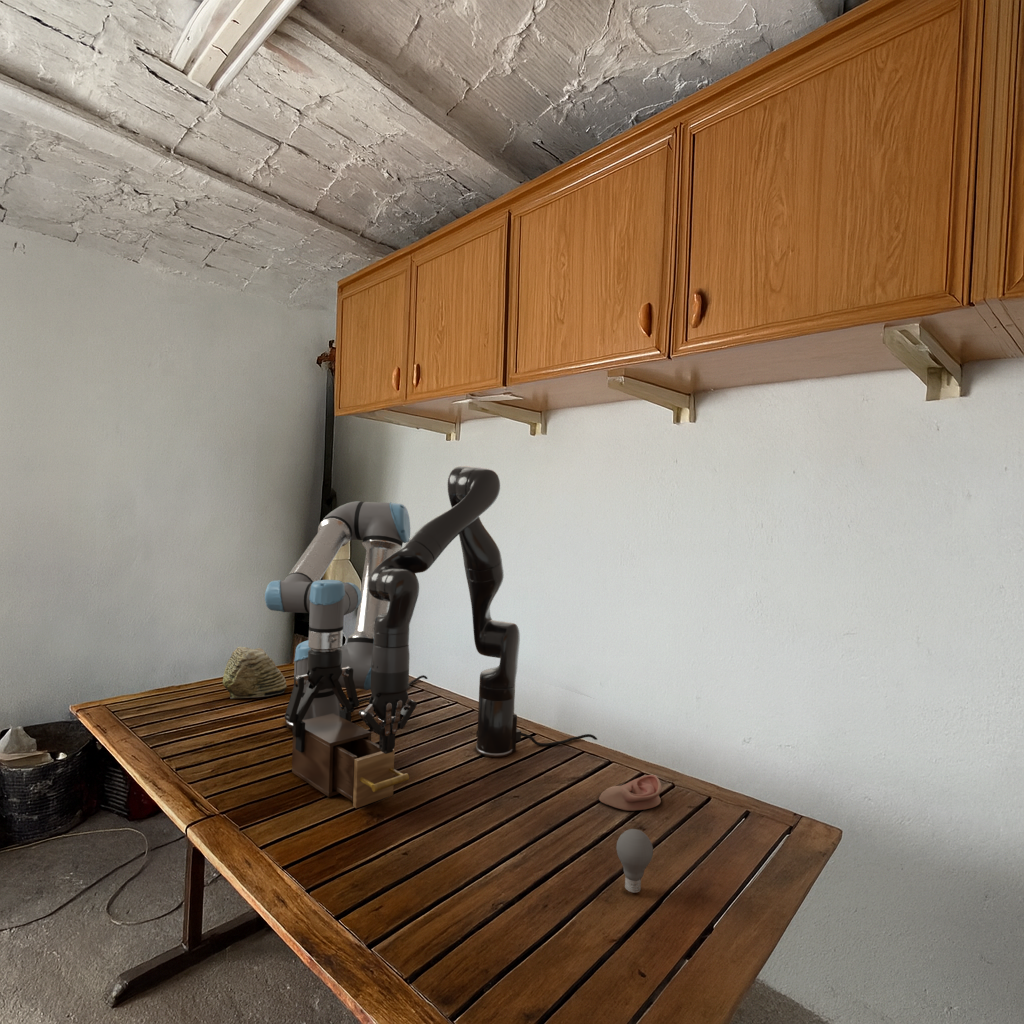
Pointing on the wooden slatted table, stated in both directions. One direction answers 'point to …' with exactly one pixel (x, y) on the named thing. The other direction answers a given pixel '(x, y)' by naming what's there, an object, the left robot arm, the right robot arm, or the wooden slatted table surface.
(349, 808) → the wooden slatted table surface
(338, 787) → the drawer
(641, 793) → the anatomical model
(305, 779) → the cabinet
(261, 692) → the fossil
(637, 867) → the light bulb
